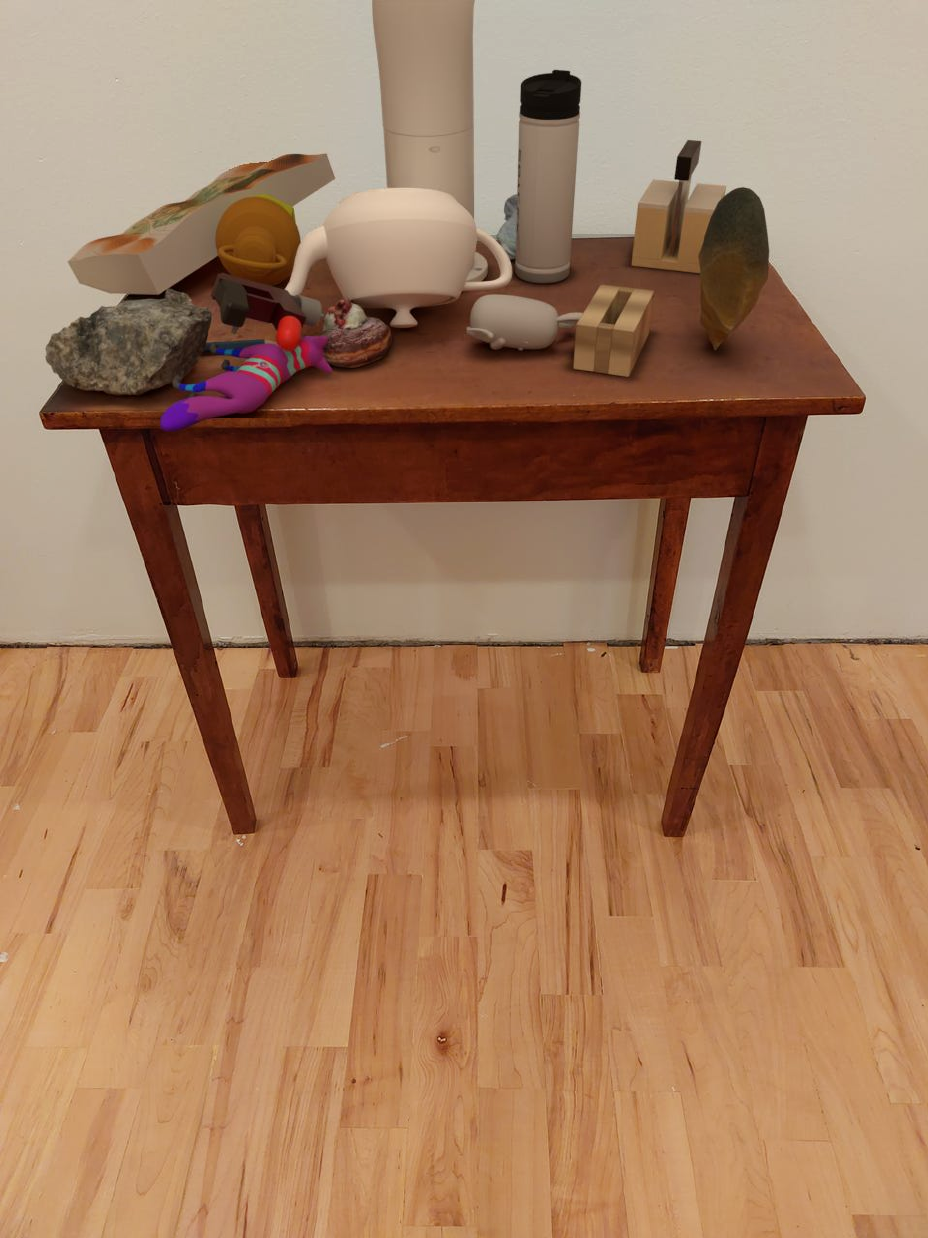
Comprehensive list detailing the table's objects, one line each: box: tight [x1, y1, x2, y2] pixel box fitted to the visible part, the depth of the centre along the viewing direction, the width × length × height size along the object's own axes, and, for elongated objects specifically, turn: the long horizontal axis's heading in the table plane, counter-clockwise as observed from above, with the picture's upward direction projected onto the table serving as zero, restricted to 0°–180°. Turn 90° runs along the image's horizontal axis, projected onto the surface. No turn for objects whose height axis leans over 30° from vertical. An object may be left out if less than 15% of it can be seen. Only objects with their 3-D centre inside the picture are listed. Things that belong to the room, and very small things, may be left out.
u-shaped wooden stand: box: [631, 179, 727, 274], centre depth 107 cm, size 9×9×7 cm
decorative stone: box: [698, 186, 770, 351], centre depth 85 cm, size 10×6×15 cm, turn 4°
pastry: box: [316, 296, 393, 369], centre depth 89 cm, size 8×8×5 cm
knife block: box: [572, 284, 655, 378], centre depth 89 cm, size 10×5×4 cm, turn 161°
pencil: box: [202, 338, 277, 354], centre depth 91 cm, size 1×1×15 cm
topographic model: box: [67, 152, 336, 296], centre depth 108 cm, size 30×14×5 cm, turn 145°
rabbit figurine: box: [465, 293, 584, 351], centre depth 90 cm, size 6×5×12 cm
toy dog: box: [159, 335, 333, 432], centre depth 83 cm, size 4×18×10 cm
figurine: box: [496, 193, 517, 261], centre depth 111 cm, size 8×12×7 cm, turn 171°
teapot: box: [284, 187, 513, 329], centre depth 92 cm, size 25×16×12 cm, turn 104°
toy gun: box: [209, 272, 325, 351], centre depth 84 cm, size 10×12×5 cm
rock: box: [44, 288, 213, 397], centre depth 85 cm, size 14×10×10 cm
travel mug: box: [514, 69, 582, 285], centre depth 99 cm, size 6×7×20 cm
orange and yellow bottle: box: [215, 194, 302, 287], centre depth 102 cm, size 9×9×25 cm
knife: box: [669, 139, 702, 259], centre depth 105 cm, size 7×2×11 cm, turn 161°
